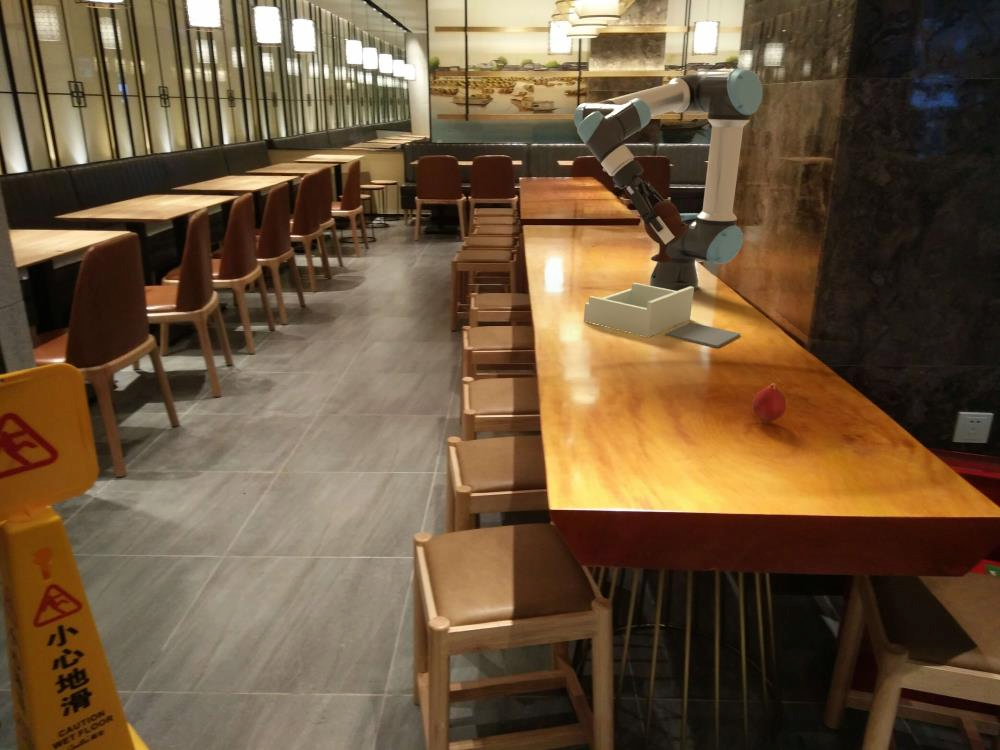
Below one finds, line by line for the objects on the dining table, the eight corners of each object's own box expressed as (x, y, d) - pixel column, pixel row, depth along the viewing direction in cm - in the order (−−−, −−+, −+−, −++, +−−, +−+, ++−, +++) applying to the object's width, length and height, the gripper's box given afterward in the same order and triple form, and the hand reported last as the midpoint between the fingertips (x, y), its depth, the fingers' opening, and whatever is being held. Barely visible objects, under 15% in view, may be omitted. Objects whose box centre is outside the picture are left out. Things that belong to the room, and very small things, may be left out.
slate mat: (690, 324, 199) (690, 322, 198) (740, 335, 190) (740, 333, 190) (665, 335, 188) (665, 333, 188) (717, 347, 180) (717, 345, 180)
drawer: (628, 305, 215) (631, 274, 212) (690, 319, 203) (694, 287, 200) (583, 321, 198) (586, 288, 195) (648, 337, 186) (651, 302, 183)
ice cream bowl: (683, 266, 184) (692, 205, 179) (638, 262, 186) (645, 201, 181) (683, 258, 194) (692, 199, 188) (640, 254, 196) (647, 196, 190)
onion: (744, 416, 141) (751, 377, 138) (774, 416, 142) (781, 377, 139) (757, 429, 136) (764, 388, 133) (787, 429, 136) (795, 388, 133)
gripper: (625, 174, 199) (675, 239, 198) (596, 181, 179) (651, 254, 179) (647, 155, 195) (698, 221, 194) (620, 160, 175) (676, 234, 175)
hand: (675, 237), depth 186 cm, fingers closed on ice cream bowl, 11 cm apart
